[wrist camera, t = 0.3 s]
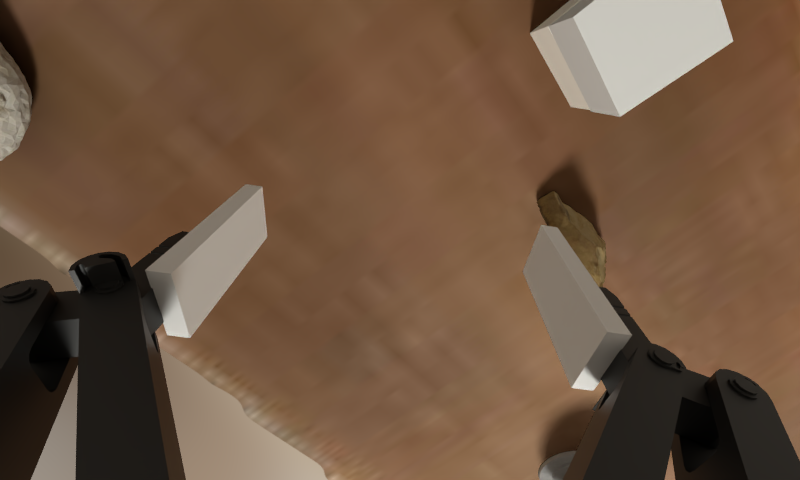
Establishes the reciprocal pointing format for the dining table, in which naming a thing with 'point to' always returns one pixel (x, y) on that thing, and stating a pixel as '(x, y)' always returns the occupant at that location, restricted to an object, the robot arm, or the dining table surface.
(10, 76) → the decorative shell
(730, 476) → the robot arm
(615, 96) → the tower top
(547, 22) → the tower base
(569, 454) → the mate gourd
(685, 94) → the dining table surface
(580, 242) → the rock
